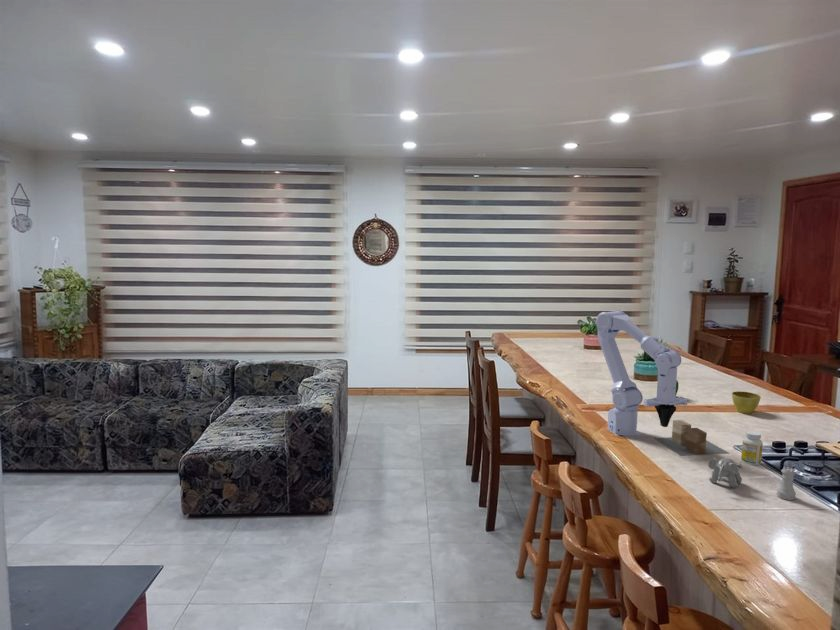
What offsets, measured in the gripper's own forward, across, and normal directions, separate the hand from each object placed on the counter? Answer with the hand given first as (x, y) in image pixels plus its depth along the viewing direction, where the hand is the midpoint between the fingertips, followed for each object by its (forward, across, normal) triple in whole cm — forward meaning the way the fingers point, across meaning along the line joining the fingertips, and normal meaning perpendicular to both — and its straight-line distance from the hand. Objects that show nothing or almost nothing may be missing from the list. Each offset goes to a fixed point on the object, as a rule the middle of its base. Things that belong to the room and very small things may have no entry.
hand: (664, 426), depth 188 cm
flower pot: (+7, +54, +30) cm, 62 cm away
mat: (+6, +8, -3) cm, 11 cm away
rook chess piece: (+7, +11, -41) cm, 43 cm away
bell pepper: (+7, +34, +54) cm, 64 cm away
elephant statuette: (+7, 0, -32) cm, 33 cm away
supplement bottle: (+7, +18, -18) cm, 27 cm away
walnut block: (+6, +6, -8) cm, 12 cm away
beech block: (+6, +6, 0) cm, 9 cm away
